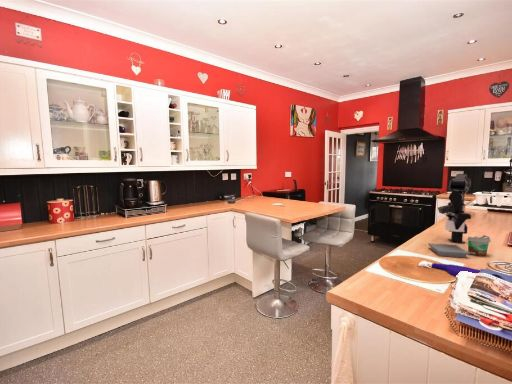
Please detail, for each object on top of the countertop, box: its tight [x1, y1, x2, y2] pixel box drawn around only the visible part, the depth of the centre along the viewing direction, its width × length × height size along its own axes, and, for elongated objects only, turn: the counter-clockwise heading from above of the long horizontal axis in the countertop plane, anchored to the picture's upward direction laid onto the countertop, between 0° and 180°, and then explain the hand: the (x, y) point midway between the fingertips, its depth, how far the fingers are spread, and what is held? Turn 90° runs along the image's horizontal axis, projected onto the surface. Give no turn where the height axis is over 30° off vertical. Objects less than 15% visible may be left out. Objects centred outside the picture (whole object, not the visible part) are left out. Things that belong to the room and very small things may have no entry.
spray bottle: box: [417, 260, 481, 277], centre depth 117 cm, size 3×11×24 cm
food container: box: [467, 234, 492, 257], centre depth 138 cm, size 12×6×10 cm, turn 105°
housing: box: [444, 218, 466, 232], centre depth 144 cm, size 5×7×7 cm
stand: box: [428, 242, 471, 259], centre depth 141 cm, size 14×14×3 cm
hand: (454, 228), depth 144 cm, fingers closed on housing, 5 cm apart
